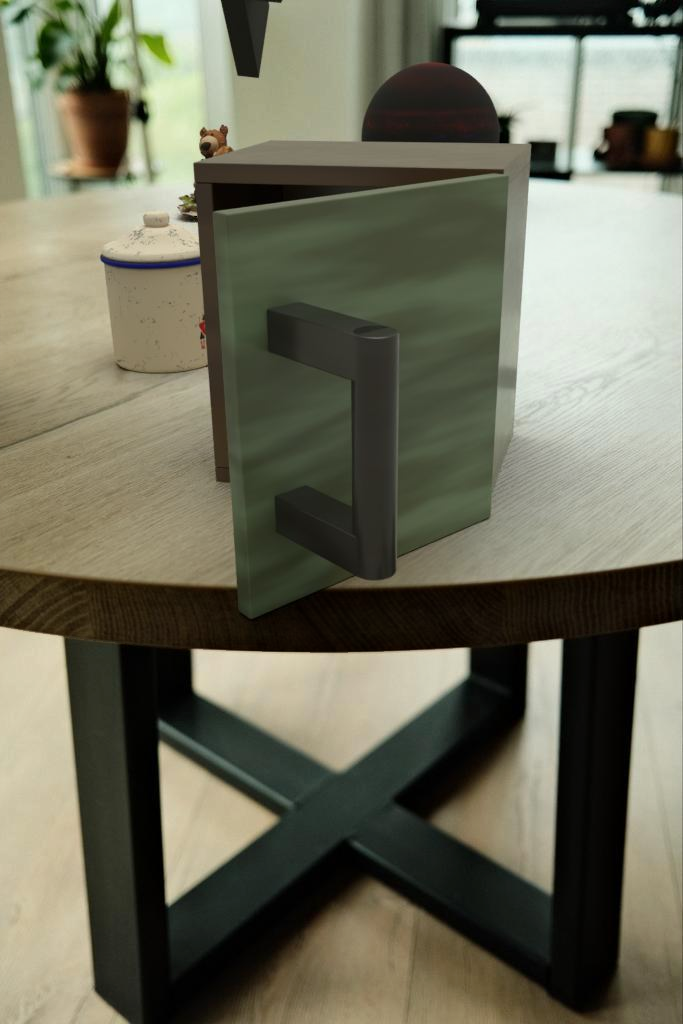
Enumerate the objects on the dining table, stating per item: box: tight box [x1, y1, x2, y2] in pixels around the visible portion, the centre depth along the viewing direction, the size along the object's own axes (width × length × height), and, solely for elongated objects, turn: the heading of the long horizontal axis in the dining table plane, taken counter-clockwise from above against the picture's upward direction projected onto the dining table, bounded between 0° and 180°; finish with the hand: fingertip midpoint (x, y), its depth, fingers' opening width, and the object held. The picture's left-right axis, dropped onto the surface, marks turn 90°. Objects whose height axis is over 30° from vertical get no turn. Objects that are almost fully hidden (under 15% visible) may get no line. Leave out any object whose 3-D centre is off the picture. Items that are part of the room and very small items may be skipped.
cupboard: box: [192, 139, 532, 493], centre depth 59 cm, size 12×16×18 cm
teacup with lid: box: [99, 210, 208, 374], centre depth 82 cm, size 12×9×12 cm
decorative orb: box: [361, 62, 500, 143], centre depth 148 cm, size 20×20×20 cm
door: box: [213, 173, 509, 620], centre depth 45 cm, size 7×16×18 cm, turn 131°
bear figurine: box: [176, 124, 235, 217], centre depth 146 cm, size 14×15×12 cm
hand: (62, 21), depth 36 cm, fingers open, 13 cm apart
